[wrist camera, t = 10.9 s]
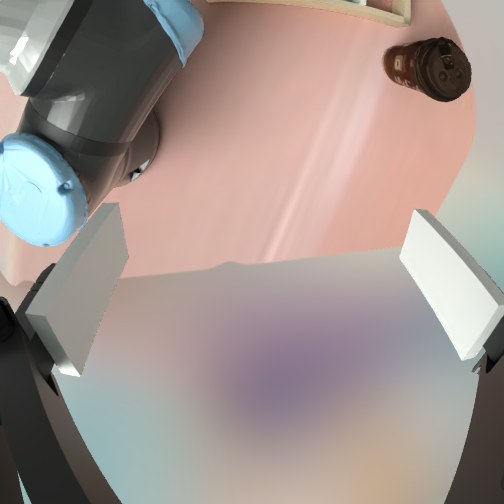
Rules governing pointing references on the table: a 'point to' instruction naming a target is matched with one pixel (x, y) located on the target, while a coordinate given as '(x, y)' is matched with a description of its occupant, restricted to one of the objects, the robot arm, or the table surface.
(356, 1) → the pitch
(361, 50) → the table surface
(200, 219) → the table surface
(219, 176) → the table surface
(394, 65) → the coffee cup
